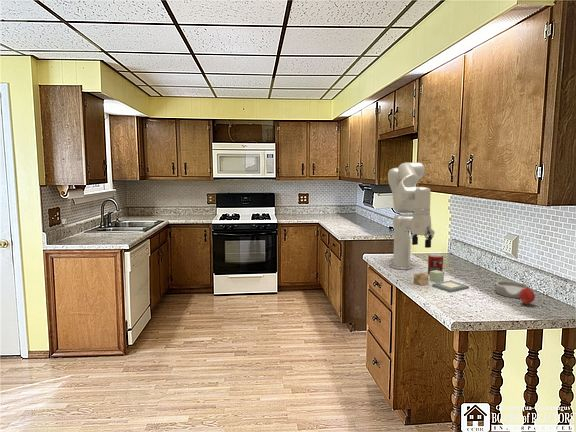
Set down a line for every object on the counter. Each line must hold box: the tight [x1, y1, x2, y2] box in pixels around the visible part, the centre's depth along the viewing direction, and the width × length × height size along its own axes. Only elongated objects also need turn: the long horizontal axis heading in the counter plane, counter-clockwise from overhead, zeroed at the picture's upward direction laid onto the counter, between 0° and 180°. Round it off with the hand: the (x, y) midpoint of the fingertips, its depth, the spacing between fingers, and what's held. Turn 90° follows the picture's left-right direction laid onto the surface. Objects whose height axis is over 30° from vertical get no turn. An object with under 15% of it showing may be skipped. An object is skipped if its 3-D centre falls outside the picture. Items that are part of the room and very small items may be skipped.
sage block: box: [428, 270, 445, 283], centre depth 208 cm, size 5×5×5 cm
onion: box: [519, 286, 536, 305], centre depth 171 cm, size 6×6×8 cm
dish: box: [493, 280, 531, 299], centre depth 186 cm, size 14×14×5 cm
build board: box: [431, 280, 470, 293], centre depth 196 cm, size 11×13×1 cm
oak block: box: [413, 272, 429, 287], centre depth 203 cm, size 5×5×5 cm
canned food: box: [427, 252, 444, 275], centre depth 221 cm, size 8×8×11 cm
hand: (421, 246), depth 200 cm, fingers open, 9 cm apart
